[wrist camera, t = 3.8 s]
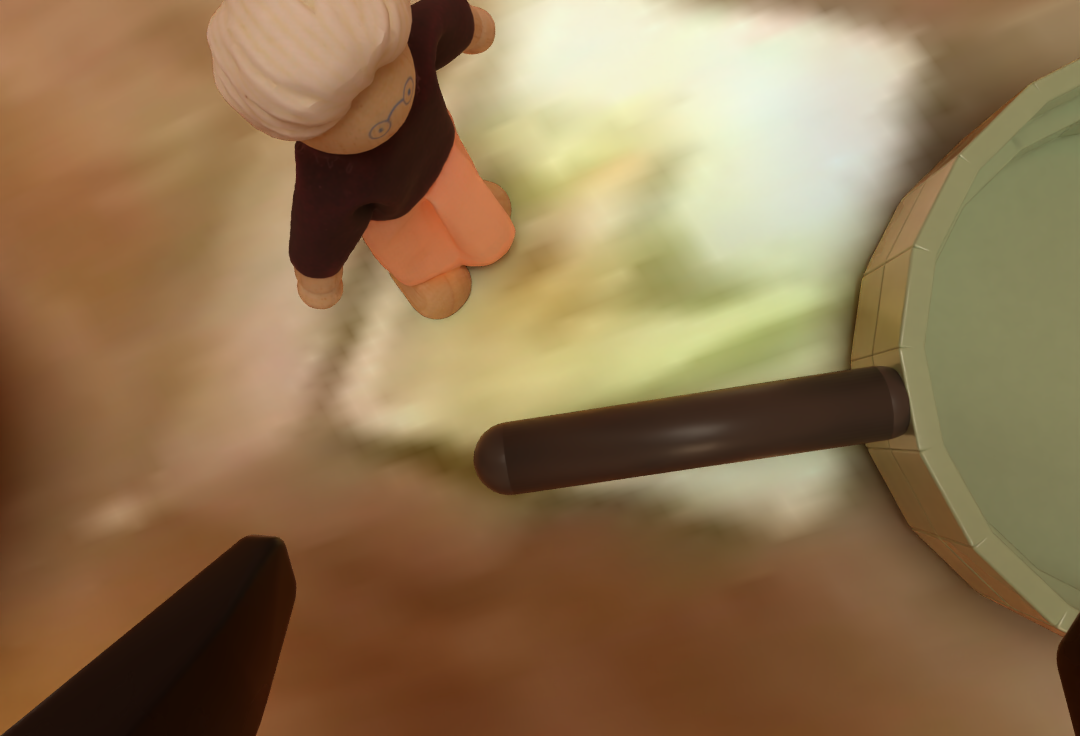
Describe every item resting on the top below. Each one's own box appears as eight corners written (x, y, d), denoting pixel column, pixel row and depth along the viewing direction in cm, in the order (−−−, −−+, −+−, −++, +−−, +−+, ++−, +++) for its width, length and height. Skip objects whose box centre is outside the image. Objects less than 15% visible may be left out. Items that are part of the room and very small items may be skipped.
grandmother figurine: (474, 368, 23) (310, 294, 11) (355, 326, 24) (62, 208, 11) (560, 127, 23) (501, -224, 11) (442, 90, 24) (254, -289, 11)
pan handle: (485, 496, 20) (473, 503, 19) (475, 427, 20) (462, 427, 19) (909, 434, 19) (939, 435, 18) (896, 363, 20) (925, 356, 18)
